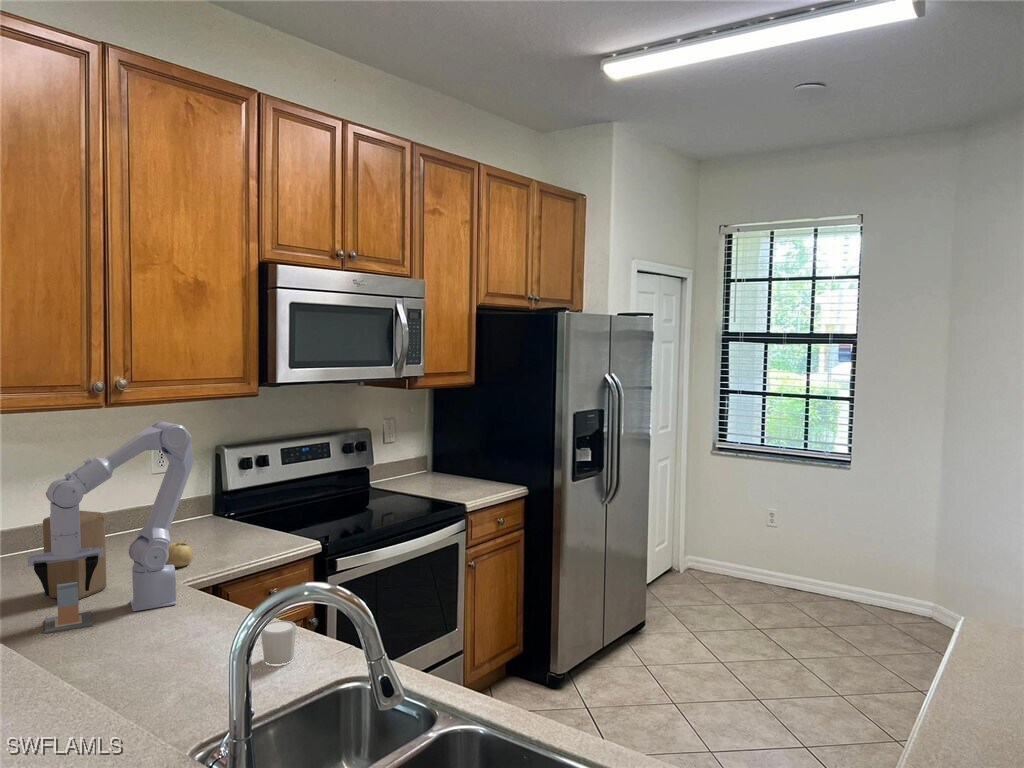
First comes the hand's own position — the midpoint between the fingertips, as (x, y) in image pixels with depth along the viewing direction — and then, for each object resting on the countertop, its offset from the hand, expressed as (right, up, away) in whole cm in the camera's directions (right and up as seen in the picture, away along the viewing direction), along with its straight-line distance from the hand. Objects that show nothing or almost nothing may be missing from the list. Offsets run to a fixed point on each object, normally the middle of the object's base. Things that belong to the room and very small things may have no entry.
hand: (67, 592), depth 169 cm
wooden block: (-9, -6, +19) cm, 22 cm away
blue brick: (0, -3, 0) cm, 3 cm away
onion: (+6, -5, +43) cm, 43 cm away
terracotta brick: (0, -7, +1) cm, 7 cm away
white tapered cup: (+53, -9, -18) cm, 57 cm away
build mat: (0, -7, 0) cm, 7 cm away
